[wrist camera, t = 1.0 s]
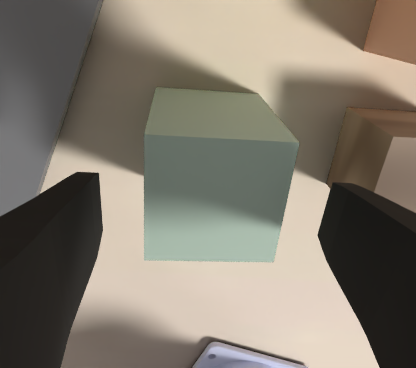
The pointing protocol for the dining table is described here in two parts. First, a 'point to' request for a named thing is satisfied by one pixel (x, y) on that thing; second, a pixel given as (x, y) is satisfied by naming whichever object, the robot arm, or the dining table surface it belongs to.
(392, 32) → the terracotta block
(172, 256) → the sage block
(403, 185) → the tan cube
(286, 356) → the dining table surface
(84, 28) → the slate board
